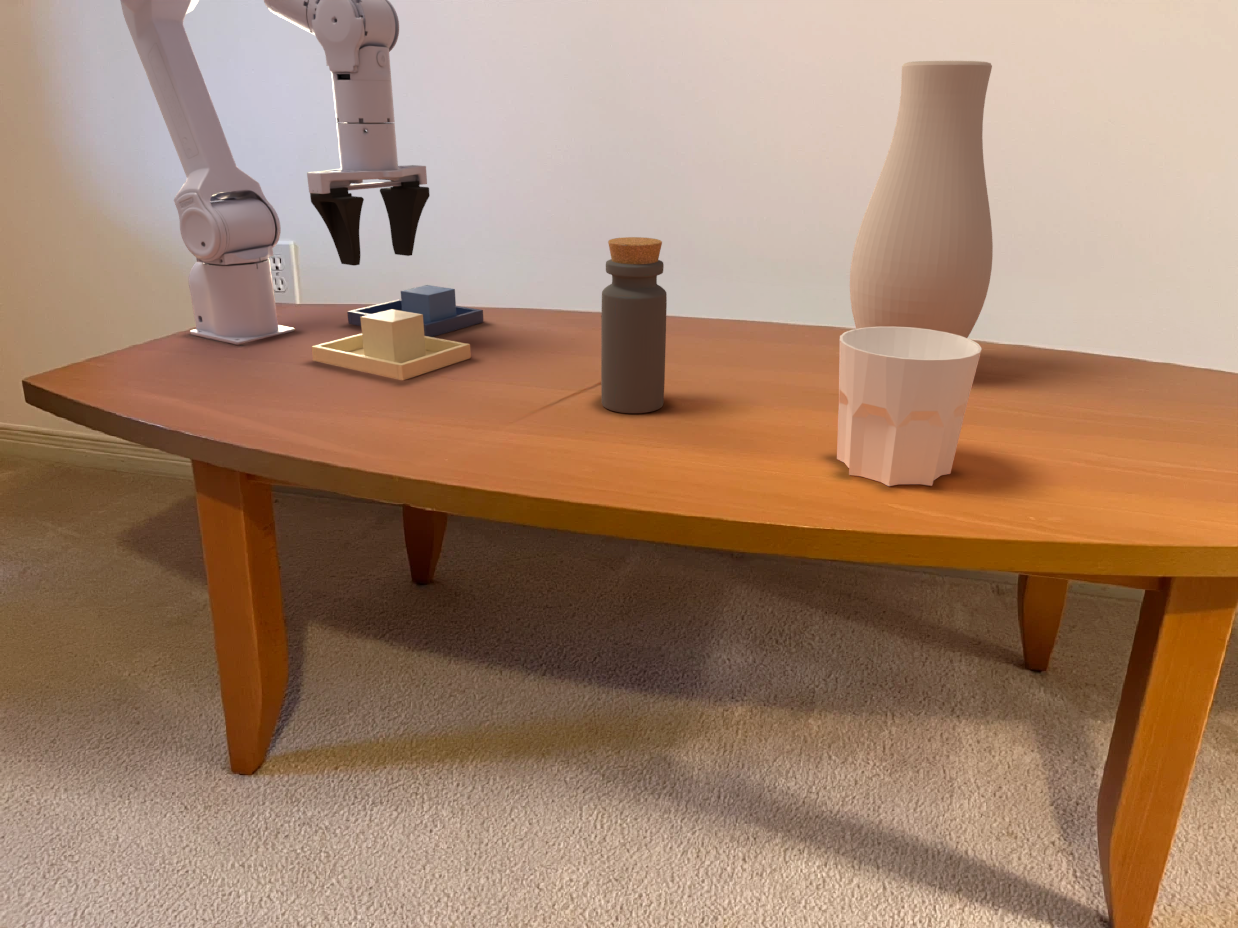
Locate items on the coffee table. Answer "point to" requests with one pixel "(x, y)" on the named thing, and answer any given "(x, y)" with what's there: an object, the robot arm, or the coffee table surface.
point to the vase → (929, 208)
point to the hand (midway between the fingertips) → (377, 259)
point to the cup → (902, 401)
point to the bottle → (633, 327)
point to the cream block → (393, 335)
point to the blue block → (429, 302)
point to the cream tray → (352, 357)
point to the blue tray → (435, 328)
